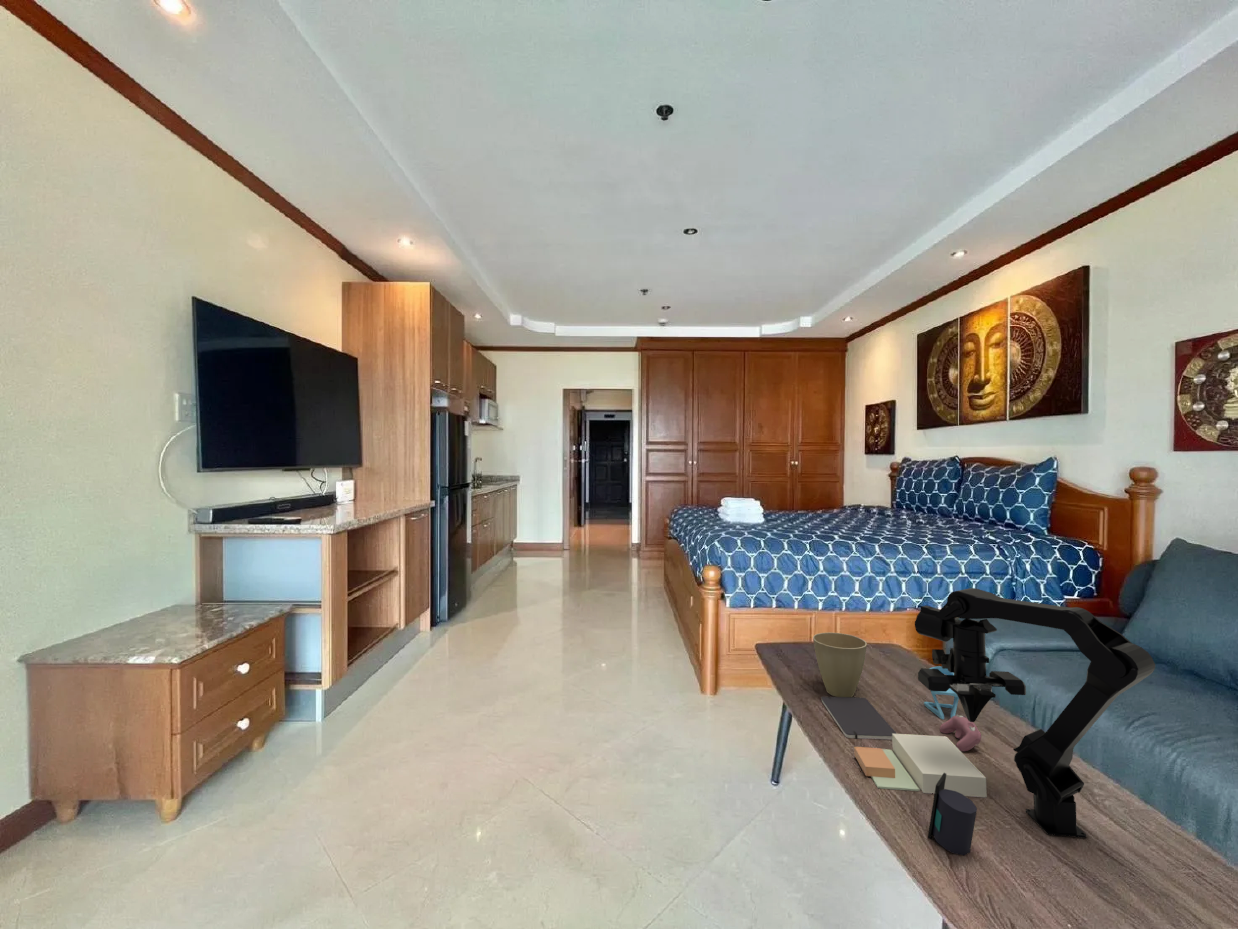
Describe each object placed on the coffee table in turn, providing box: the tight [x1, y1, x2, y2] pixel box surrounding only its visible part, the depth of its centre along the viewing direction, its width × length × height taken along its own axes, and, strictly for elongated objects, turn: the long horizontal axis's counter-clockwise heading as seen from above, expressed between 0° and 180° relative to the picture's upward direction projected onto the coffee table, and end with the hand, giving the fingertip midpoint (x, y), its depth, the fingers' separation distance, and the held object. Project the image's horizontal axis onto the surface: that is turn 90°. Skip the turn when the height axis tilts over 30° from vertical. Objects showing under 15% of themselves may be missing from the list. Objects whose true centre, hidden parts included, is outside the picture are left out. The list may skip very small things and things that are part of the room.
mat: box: [870, 748, 921, 792], centre depth 112 cm, size 15×8×1 cm, turn 172°
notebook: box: [820, 696, 898, 741], centre depth 135 cm, size 13×2×21 cm
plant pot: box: [812, 632, 868, 697], centre depth 150 cm, size 15×15×16 cm
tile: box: [853, 746, 895, 778], centre depth 112 cm, size 8×6×2 cm
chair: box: [923, 665, 960, 720], centre depth 137 cm, size 8×8×12 cm
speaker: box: [927, 773, 978, 856], centre depth 90 cm, size 8×6×10 cm
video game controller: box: [939, 713, 982, 753], centre depth 122 cm, size 10×5×7 cm, turn 170°
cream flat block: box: [891, 733, 988, 798], centre depth 110 cm, size 16×12×4 cm
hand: (971, 721), depth 107 cm, fingers closed
